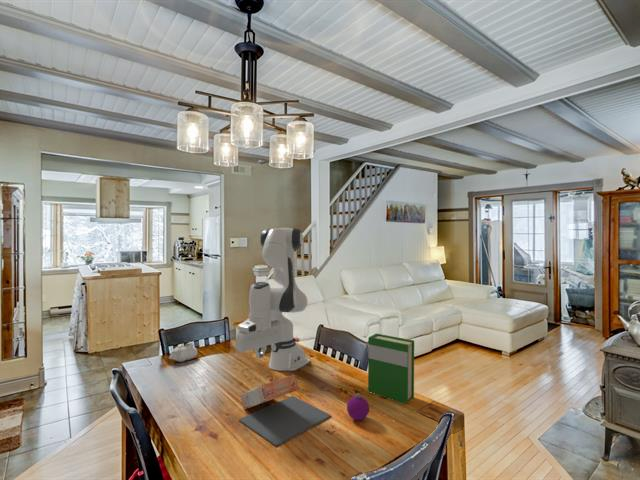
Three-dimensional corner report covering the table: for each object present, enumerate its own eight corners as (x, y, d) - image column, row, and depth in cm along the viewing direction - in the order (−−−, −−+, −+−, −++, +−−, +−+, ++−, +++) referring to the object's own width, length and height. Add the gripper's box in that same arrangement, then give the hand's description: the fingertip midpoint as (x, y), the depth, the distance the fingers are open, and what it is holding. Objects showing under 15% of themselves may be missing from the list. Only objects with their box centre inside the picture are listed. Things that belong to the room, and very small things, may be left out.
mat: (292, 397, 144) (292, 395, 144) (331, 416, 129) (331, 415, 129) (238, 420, 126) (238, 419, 126) (276, 447, 111) (276, 445, 111)
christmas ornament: (346, 412, 132) (346, 387, 132) (367, 413, 132) (367, 387, 131) (347, 424, 124) (347, 397, 124) (370, 425, 123) (370, 397, 123)
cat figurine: (197, 339, 193) (171, 342, 182) (202, 349, 188) (176, 353, 177) (191, 352, 196) (165, 355, 185) (196, 362, 191) (169, 367, 180)
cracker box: (243, 410, 134) (267, 401, 120) (239, 394, 136) (263, 383, 122) (274, 399, 143) (299, 389, 129) (270, 384, 145) (295, 373, 131)
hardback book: (413, 397, 145) (414, 340, 144) (407, 404, 139) (407, 345, 138) (375, 386, 155) (376, 333, 155) (368, 392, 149) (368, 337, 149)
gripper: (275, 317, 148) (275, 349, 148) (233, 326, 133) (233, 361, 133) (285, 320, 143) (285, 353, 143) (242, 329, 129) (242, 366, 129)
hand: (260, 357), depth 138 cm, fingers closed
